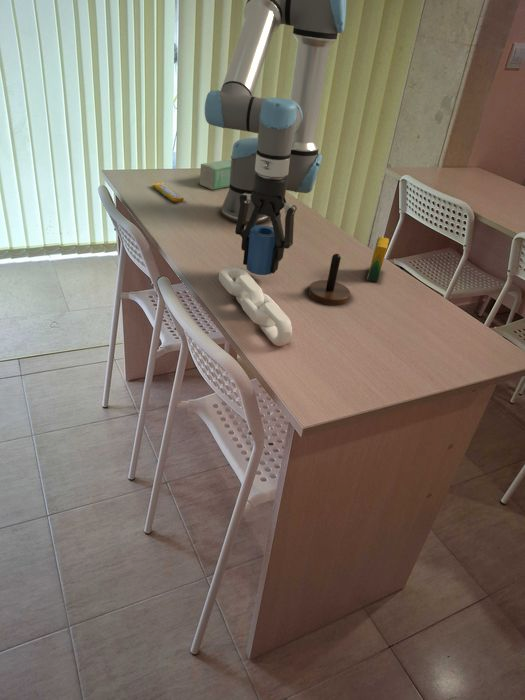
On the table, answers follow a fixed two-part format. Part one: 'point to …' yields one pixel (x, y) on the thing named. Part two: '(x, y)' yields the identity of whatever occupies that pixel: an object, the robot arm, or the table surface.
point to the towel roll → (260, 250)
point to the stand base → (329, 293)
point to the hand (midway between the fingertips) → (260, 266)
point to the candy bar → (167, 192)
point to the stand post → (333, 272)
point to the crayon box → (378, 258)
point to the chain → (257, 305)
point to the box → (215, 174)
